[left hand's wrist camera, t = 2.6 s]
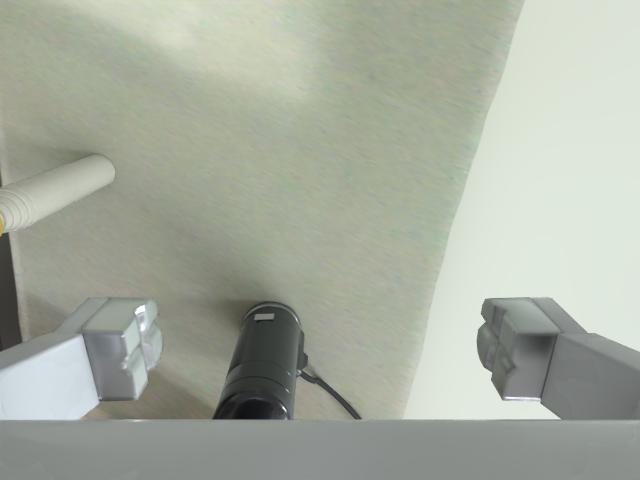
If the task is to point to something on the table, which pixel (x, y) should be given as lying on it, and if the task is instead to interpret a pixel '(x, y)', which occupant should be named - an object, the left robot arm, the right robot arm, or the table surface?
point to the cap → (1, 226)
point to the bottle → (52, 191)
